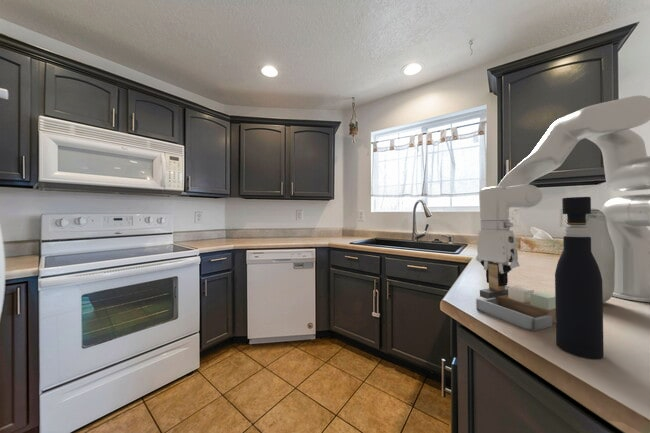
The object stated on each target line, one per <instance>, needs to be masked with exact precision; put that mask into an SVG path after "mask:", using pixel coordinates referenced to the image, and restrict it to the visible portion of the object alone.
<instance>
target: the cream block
mask: <svg viewBox="0 0 650 433" xmlns="http://www.w3.org/2000/svg"><path fill="white" fill-rule="evenodd" d="M530 293H535V289H532V288H527V287H524V286H520V285H515V286H509V287H508V298H510V299H513V300H516V301H520V302H523V303H526V302H530Z"/></svg>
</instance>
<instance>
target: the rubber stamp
mask: <svg viewBox="0 0 650 433" xmlns="http://www.w3.org/2000/svg"><path fill="white" fill-rule="evenodd" d="M498 273H500V272H499V265H498V263H496V262H494V263H488V274H489V283H488V288H484V289H480V290H479V297H480V298H483V299H489V298H497V299H498V296H503V295H508V287H510V286H508V285H506V286H499V285H498Z"/></svg>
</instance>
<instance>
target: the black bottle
mask: <svg viewBox="0 0 650 433" xmlns="http://www.w3.org/2000/svg"><path fill="white" fill-rule="evenodd" d="M561 201H562V202H561V205H562V206H561V207H562V209H561V210H562V215H567V216H566V219H567V220H566V225H568V226H569V225H586V214H591V208H592V198H591V196H574V197H573V196H571V197H562V199H561ZM568 226H566V227H565V228H564V231H565V232H564V234H565V236H563V239H562V240H563V243H562V244H563V249H564V250H563V249H562V252H561V255H560V257H559V258H558V261H557V264H556V267H555V273H554V282H555V283H554V289H555V290H554V292H555V293H554V295H555V305H556V322H555V339H556V340H555V342H556V346H557V347H558V348H559V349H561V350H562V351H564V352H566V353H569V354H570V355H574V356H577V357H580V358H584V359H590V360H601V359H604V356H605V355H604V354H605V352H604V346H605V345H604V302H603V287H602V277H601V273H600V270H599V266H598V264H597V262H596V260H595V258H594V256H593V254H592V252H591V237H588V235H589V233H588V231H589V230H588V227H568Z"/></svg>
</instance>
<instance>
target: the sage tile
mask: <svg viewBox="0 0 650 433" xmlns="http://www.w3.org/2000/svg"><path fill="white" fill-rule="evenodd" d="M530 305H533V306H536V307H539V308H542V309H546V310H553V309H556V305H555V294H552V293H548V292H543V291H536V292H535V291H534V293H530Z"/></svg>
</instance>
